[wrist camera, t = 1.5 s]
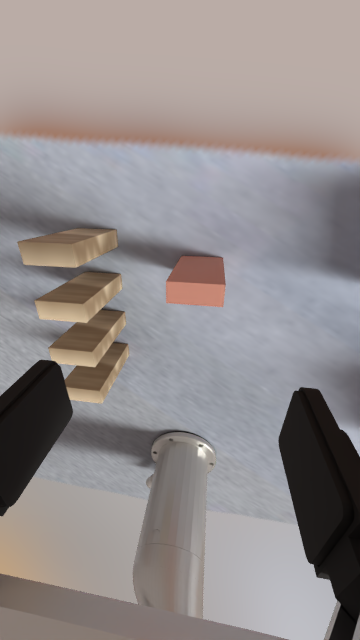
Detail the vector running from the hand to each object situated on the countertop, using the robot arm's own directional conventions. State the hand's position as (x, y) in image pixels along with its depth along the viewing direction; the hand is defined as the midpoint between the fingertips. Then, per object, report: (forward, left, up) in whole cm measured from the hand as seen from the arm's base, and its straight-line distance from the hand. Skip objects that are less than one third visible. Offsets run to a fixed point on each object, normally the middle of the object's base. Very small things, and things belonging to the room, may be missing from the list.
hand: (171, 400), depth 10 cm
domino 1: (-5, +12, -22) cm, 26 cm away
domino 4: (-19, +3, -22) cm, 29 cm away
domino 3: (-14, +6, -22) cm, 27 cm away
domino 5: (0, 0, -22) cm, 22 cm away
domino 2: (-10, +9, -22) cm, 26 cm away
